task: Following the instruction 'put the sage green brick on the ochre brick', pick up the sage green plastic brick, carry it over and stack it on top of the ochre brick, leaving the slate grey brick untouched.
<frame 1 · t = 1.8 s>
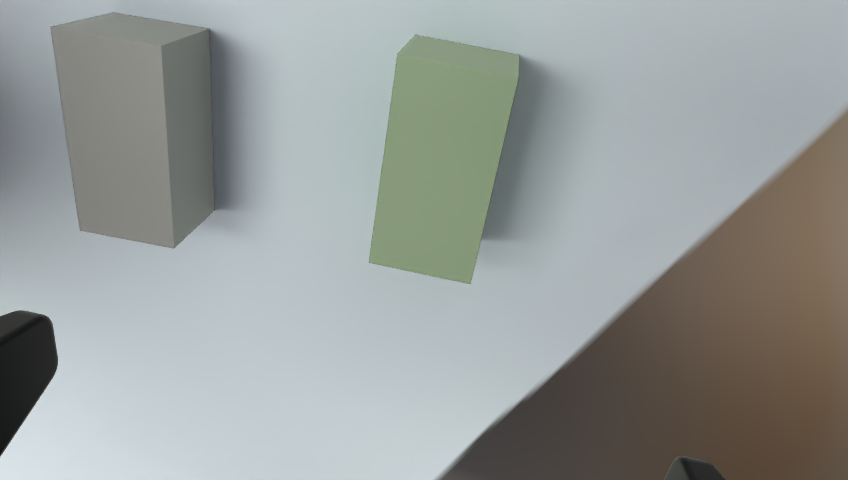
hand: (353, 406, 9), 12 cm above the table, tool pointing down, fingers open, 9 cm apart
sage brick: (448, 142, 19), on the table
slate brick: (170, 116, 20), on the table
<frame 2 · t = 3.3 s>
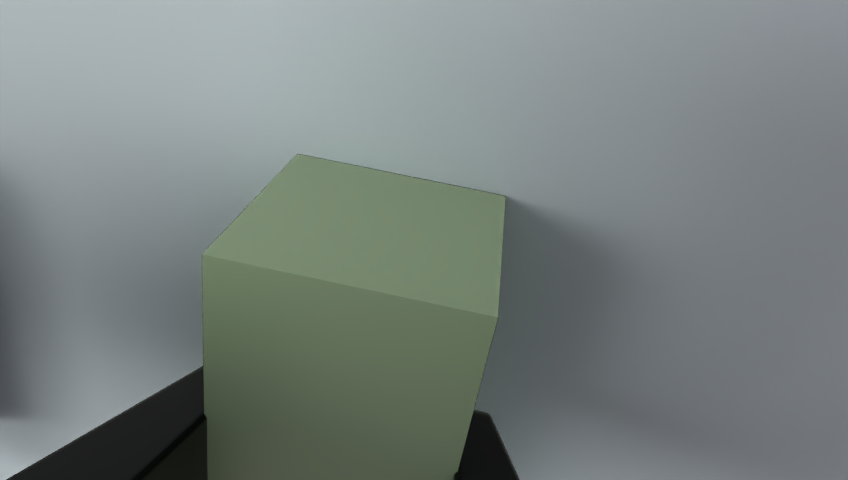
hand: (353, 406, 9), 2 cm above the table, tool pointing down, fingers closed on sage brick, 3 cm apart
sage brick: (375, 343, 10), on the table, touching gripper
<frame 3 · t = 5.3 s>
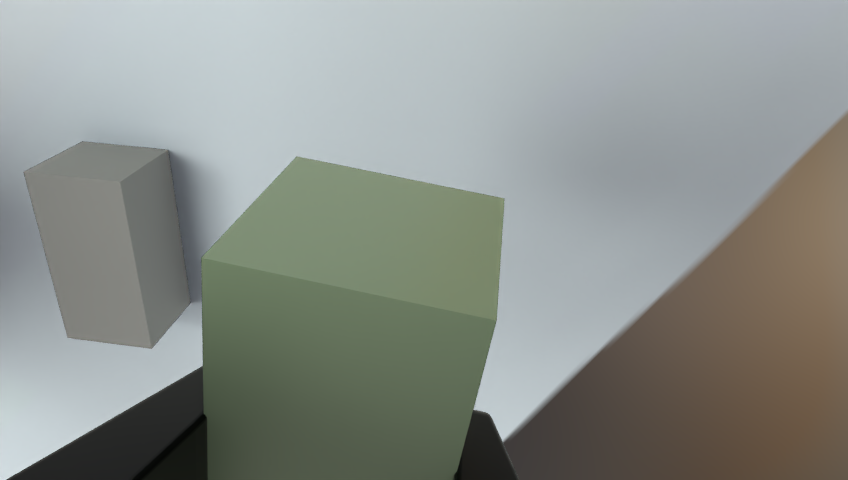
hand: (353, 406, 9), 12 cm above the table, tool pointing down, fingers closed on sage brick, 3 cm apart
sage brick: (374, 344, 10), point 10 cm above the table, touching gripper
slate brick: (142, 224, 22), on the table
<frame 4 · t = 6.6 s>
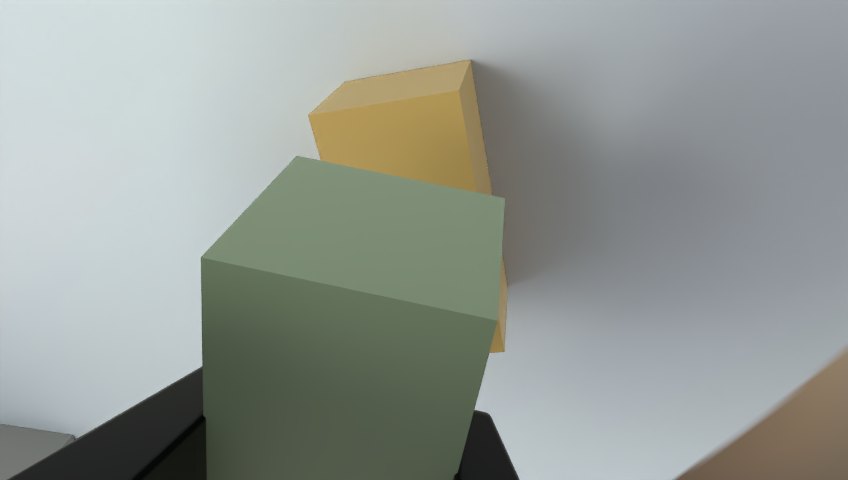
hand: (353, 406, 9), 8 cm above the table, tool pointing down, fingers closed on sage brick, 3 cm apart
sage brick: (374, 345, 10), point 6 cm above the table, touching gripper
ochre brick: (432, 187, 16), on the table
when the fingers open (6 cm above the table, at t = 7.2 s): sage brick drops 1 cm, point 3 cm above the table.
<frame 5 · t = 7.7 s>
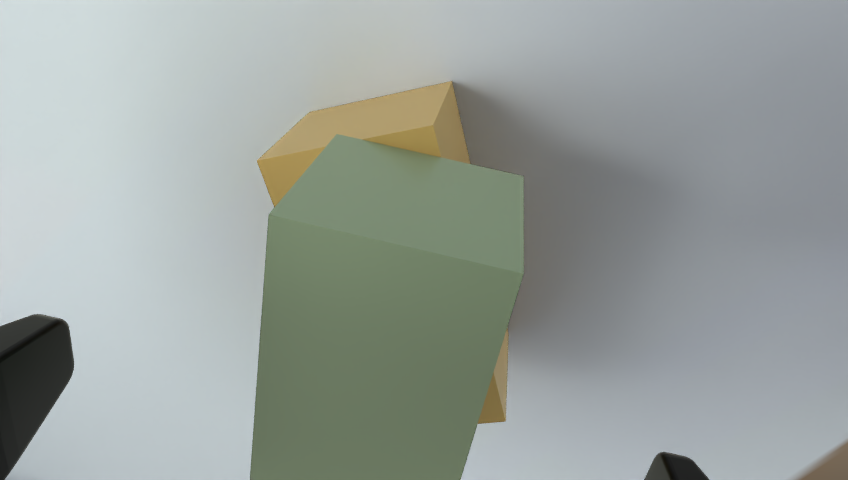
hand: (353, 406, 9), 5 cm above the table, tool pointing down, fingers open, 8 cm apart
sage brick: (398, 309, 11), point 3 cm above the table
ochre brick: (416, 227, 14), on the table
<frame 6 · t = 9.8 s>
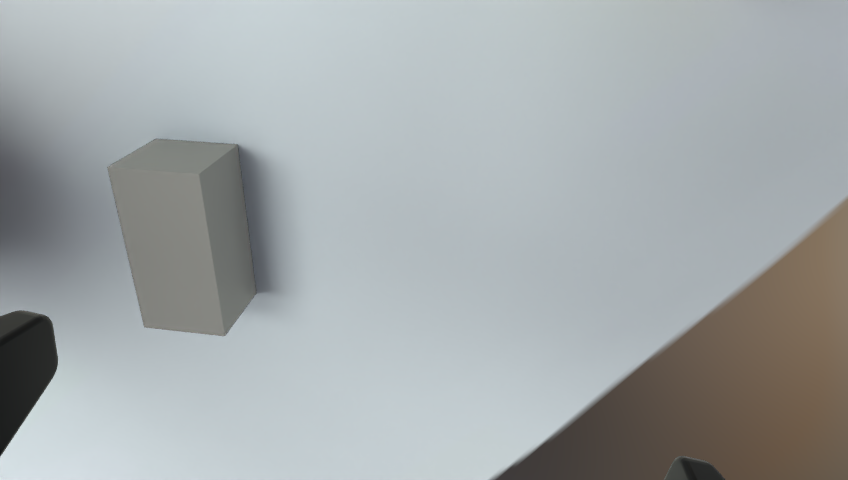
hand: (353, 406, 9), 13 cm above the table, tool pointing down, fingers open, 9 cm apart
slate brick: (211, 217, 23), on the table
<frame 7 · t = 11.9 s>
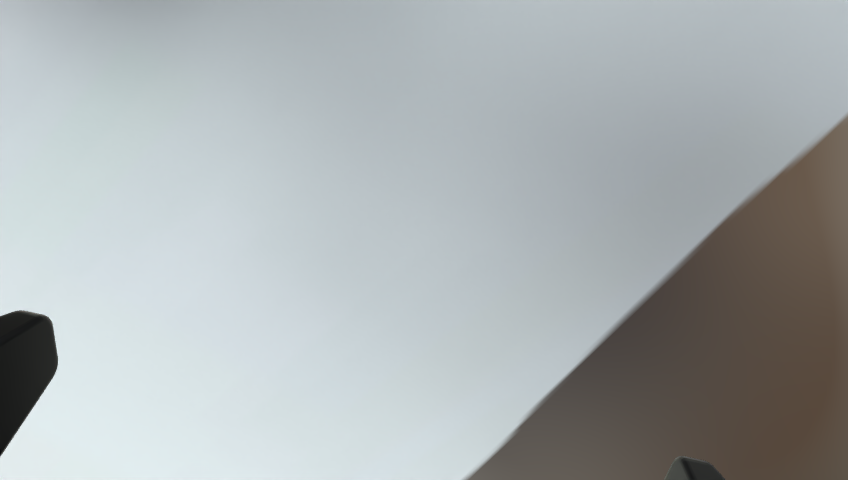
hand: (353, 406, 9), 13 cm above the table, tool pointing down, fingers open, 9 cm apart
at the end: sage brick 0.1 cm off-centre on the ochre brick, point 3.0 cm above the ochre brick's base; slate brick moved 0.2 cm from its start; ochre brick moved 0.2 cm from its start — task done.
